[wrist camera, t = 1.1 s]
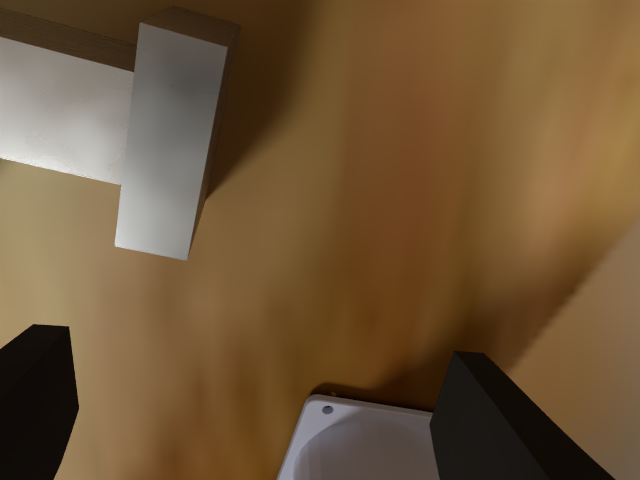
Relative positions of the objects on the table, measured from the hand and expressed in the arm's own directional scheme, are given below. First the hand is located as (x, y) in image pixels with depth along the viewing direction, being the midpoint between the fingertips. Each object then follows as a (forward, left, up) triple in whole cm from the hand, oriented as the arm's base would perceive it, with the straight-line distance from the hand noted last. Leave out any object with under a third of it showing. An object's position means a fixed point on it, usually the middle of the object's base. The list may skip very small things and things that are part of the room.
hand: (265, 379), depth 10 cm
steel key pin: (+9, -2, -10) cm, 13 cm away
